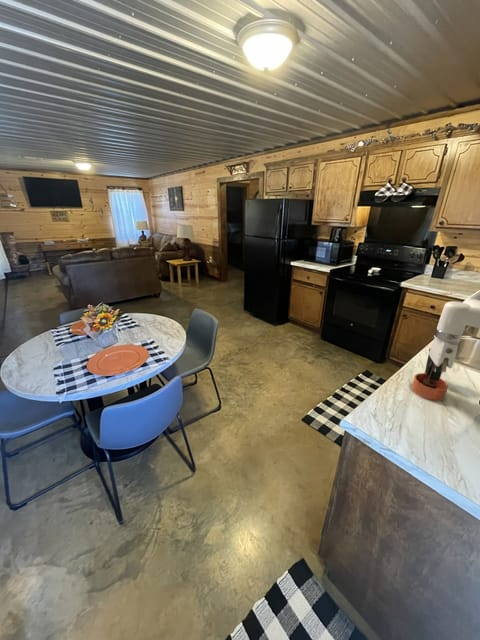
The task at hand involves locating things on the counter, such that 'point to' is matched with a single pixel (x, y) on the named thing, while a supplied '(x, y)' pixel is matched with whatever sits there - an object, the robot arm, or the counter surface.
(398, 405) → the counter surface
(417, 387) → the bowl
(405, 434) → the counter surface
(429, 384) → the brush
